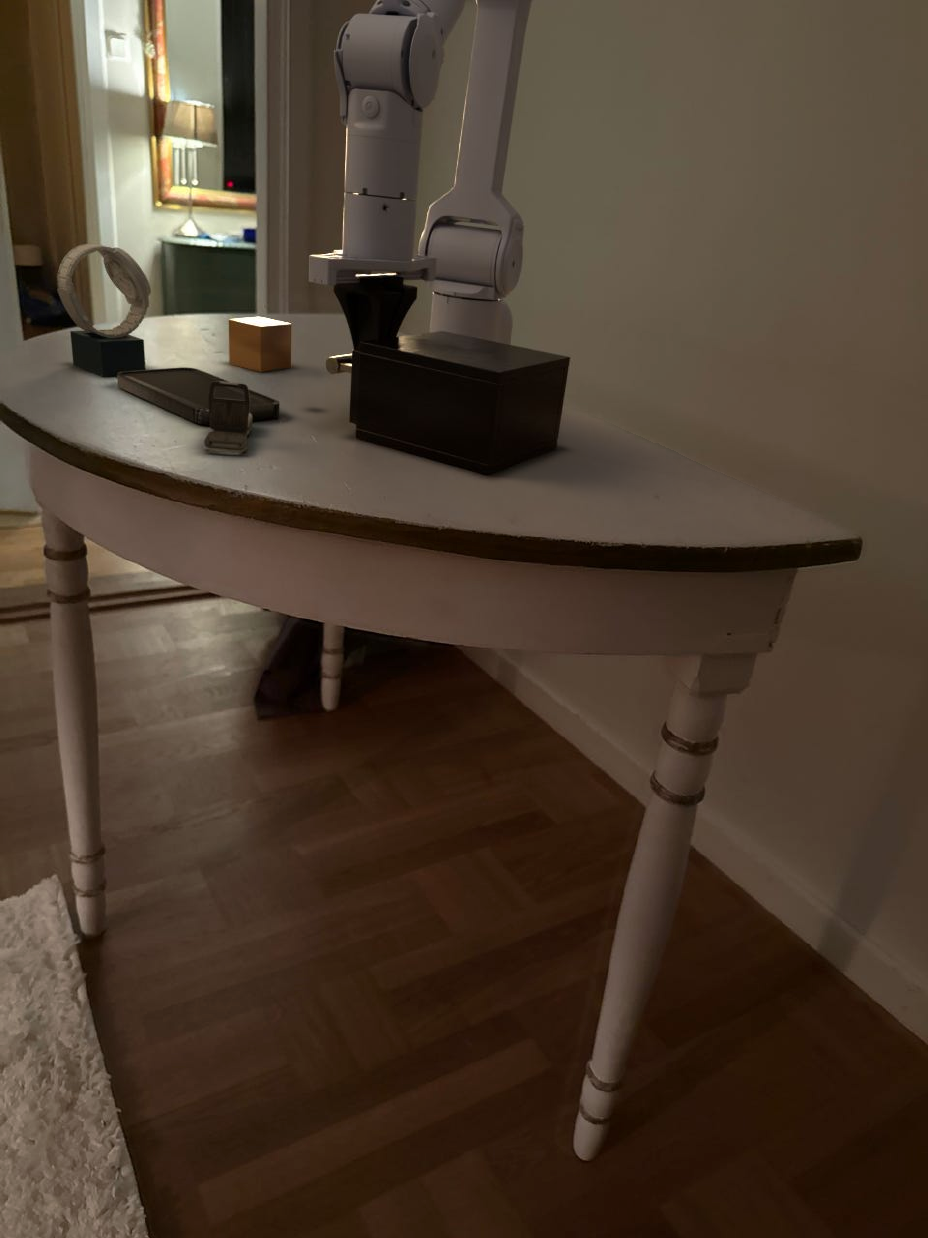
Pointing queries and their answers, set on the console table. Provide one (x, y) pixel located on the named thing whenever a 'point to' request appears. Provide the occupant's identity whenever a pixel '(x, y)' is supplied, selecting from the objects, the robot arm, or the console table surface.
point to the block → (259, 344)
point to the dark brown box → (460, 399)
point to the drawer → (351, 366)
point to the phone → (190, 392)
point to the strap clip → (228, 420)
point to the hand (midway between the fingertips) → (371, 371)
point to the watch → (114, 346)
